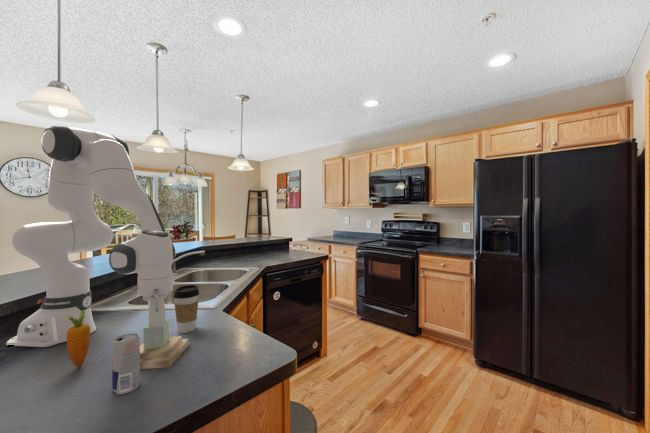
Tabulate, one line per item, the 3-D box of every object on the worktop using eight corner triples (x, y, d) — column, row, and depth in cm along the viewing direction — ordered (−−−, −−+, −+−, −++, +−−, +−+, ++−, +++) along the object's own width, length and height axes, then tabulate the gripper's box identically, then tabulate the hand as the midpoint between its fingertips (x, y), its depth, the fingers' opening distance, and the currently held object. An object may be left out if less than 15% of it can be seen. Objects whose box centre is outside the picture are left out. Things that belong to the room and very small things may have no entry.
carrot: (70, 374, 72) (69, 316, 72) (63, 369, 74) (62, 313, 74) (94, 366, 76) (93, 311, 76) (87, 361, 79) (86, 308, 79)
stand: (118, 370, 74) (118, 357, 74) (145, 347, 87) (145, 335, 87) (169, 367, 75) (169, 354, 75) (189, 344, 88) (188, 333, 88)
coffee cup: (204, 325, 104) (203, 284, 104) (191, 335, 95) (190, 291, 95) (183, 324, 104) (182, 284, 104) (168, 334, 96) (167, 290, 96)
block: (143, 349, 78) (143, 328, 78) (150, 341, 83) (149, 321, 83) (163, 347, 79) (163, 326, 79) (168, 339, 84) (168, 319, 84)
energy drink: (121, 382, 68) (121, 333, 68) (144, 381, 69) (144, 332, 69) (106, 396, 63) (105, 343, 63) (131, 394, 64) (130, 342, 64)
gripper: (170, 292, 74) (171, 345, 74) (166, 278, 91) (167, 320, 91) (142, 296, 70) (142, 351, 70) (143, 280, 88) (143, 324, 88)
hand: (156, 333), depth 81 cm, fingers open, 8 cm apart
